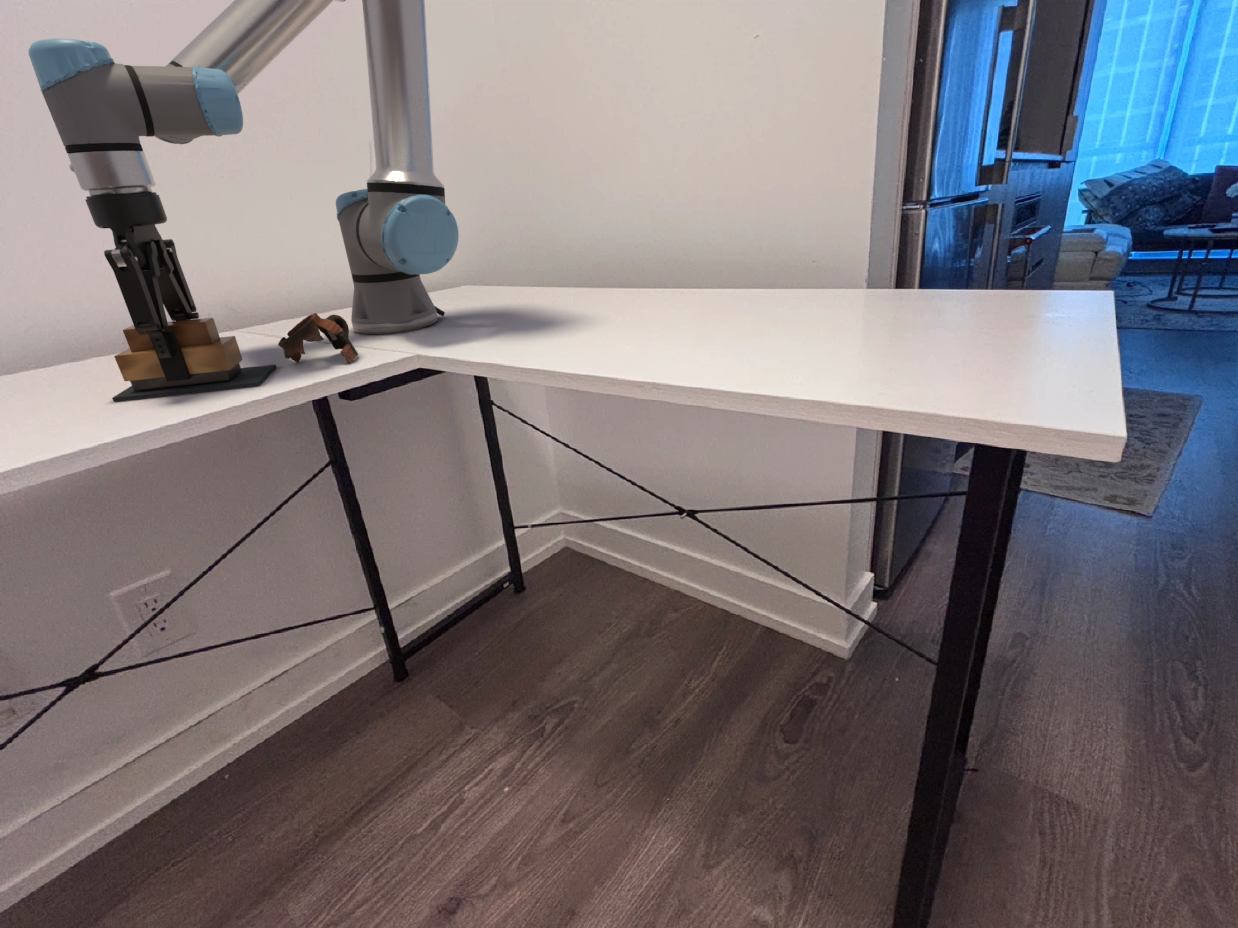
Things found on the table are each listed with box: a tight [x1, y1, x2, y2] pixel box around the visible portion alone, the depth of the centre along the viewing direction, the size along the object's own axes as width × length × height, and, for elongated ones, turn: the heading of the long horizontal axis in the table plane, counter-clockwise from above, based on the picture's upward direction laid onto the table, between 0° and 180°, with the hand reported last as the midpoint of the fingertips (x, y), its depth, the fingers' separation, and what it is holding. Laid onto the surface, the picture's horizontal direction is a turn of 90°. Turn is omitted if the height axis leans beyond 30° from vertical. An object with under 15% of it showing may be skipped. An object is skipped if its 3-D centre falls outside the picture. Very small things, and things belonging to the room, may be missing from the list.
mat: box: [111, 364, 278, 403], centre depth 88 cm, size 18×9×1 cm, turn 102°
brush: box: [113, 317, 244, 391], centre depth 85 cm, size 13×6×8 cm, turn 102°
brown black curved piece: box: [277, 312, 359, 364], centre depth 95 cm, size 12×10×8 cm
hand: (188, 372), depth 86 cm, fingers closed on brush, 6 cm apart
